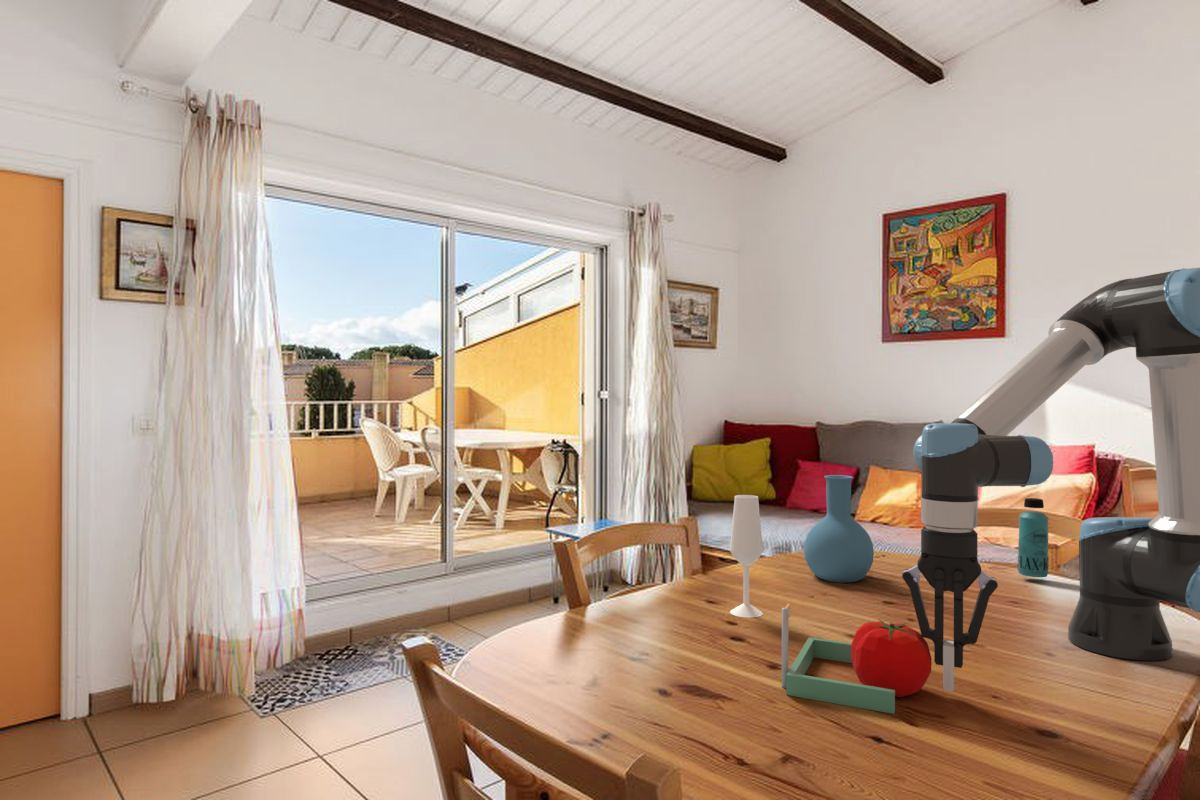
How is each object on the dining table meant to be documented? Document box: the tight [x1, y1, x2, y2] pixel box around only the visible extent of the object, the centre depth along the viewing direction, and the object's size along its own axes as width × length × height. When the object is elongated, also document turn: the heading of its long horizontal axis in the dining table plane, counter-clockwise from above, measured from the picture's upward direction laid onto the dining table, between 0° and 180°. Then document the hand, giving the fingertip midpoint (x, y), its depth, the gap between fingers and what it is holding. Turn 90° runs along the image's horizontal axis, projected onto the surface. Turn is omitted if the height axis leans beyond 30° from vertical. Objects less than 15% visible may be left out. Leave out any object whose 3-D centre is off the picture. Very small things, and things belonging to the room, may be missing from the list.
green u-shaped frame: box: [781, 602, 896, 715], centre depth 114 cm, size 16×19×12 cm
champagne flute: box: [729, 494, 764, 619], centre depth 150 cm, size 7×7×24 cm
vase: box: [803, 474, 875, 584], centre depth 180 cm, size 16×16×25 cm
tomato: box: [851, 618, 933, 698], centre depth 110 cm, size 12×12×10 cm
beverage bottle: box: [1017, 497, 1050, 578], centre depth 177 cm, size 6×7×20 cm
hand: (948, 687), depth 108 cm, fingers closed
